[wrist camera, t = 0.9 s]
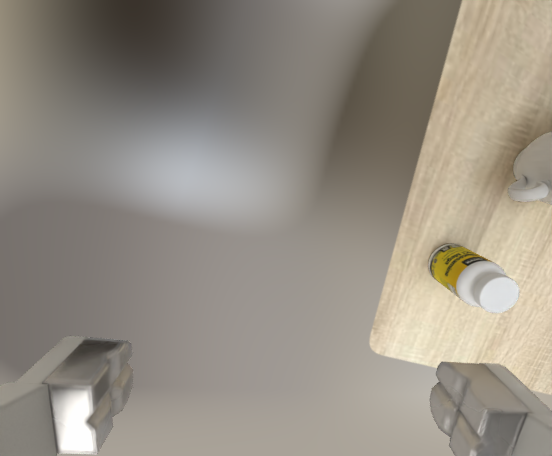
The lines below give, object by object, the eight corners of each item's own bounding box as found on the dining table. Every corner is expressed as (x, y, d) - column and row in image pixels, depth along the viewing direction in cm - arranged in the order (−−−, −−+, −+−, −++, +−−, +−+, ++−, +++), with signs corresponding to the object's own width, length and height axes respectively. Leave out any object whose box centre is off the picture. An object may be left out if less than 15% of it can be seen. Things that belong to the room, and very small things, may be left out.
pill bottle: (452, 234, 45) (510, 260, 34) (474, 263, 46) (536, 297, 35) (418, 260, 46) (463, 293, 35) (440, 288, 47) (491, 328, 36)
